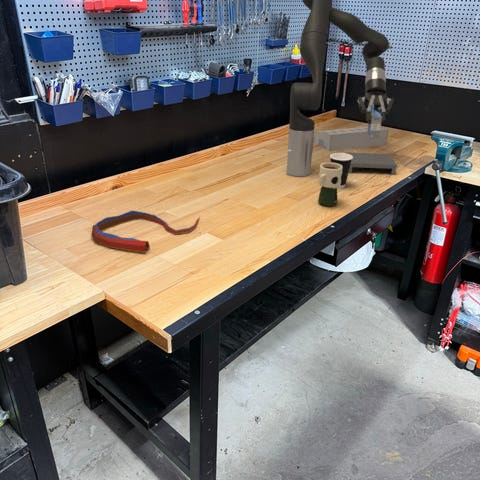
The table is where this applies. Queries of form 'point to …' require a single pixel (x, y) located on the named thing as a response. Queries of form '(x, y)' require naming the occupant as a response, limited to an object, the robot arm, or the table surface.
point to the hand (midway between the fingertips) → (375, 122)
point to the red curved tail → (129, 243)
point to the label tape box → (374, 124)
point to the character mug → (329, 182)
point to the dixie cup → (345, 162)
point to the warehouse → (348, 138)
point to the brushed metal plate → (373, 161)
